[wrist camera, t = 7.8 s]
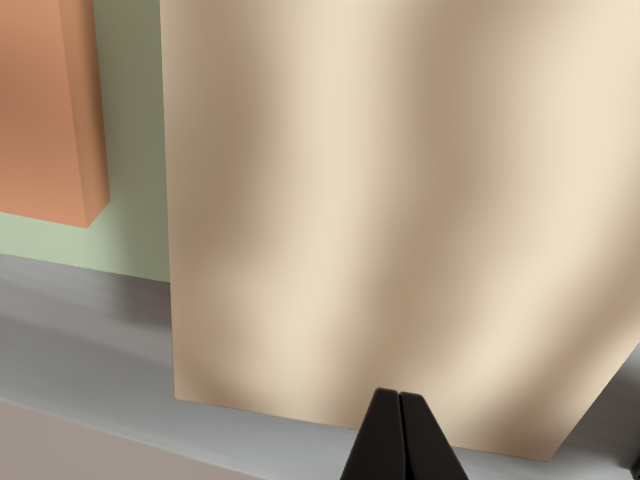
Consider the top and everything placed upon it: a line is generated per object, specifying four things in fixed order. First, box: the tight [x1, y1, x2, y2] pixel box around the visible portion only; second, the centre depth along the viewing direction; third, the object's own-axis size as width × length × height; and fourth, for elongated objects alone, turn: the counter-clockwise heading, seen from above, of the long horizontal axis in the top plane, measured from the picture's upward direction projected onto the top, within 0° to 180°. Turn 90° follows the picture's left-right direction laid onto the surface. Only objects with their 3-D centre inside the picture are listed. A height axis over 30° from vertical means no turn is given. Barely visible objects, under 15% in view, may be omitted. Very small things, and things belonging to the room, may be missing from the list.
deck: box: [160, 0, 640, 462], centre depth 16 cm, size 16×22×4 cm
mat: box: [0, 0, 170, 283], centre depth 18 cm, size 14×14×1 cm
